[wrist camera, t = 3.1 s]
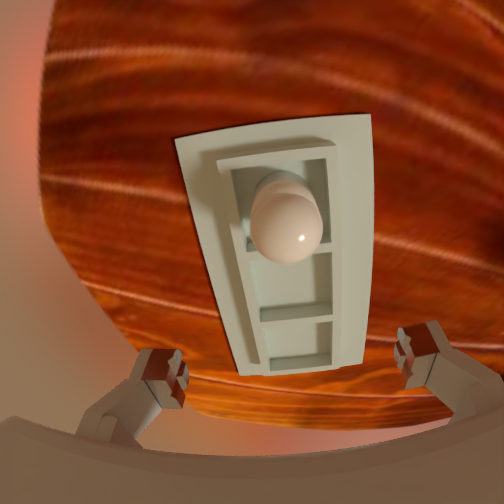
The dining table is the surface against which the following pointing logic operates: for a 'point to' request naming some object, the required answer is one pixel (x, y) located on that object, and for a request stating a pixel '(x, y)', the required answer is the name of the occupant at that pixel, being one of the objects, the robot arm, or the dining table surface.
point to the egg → (285, 218)
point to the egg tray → (292, 275)
